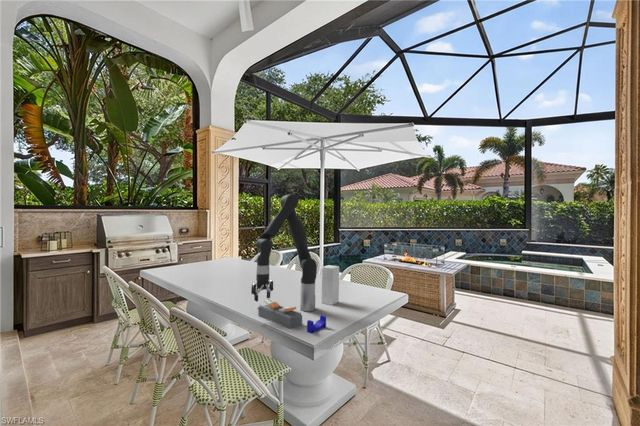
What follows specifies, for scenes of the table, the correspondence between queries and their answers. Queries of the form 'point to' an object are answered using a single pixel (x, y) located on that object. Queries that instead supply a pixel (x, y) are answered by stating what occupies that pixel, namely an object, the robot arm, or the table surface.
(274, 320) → the box
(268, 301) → the rocker
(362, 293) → the table surface
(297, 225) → the robot arm
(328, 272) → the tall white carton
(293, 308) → the block
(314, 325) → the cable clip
